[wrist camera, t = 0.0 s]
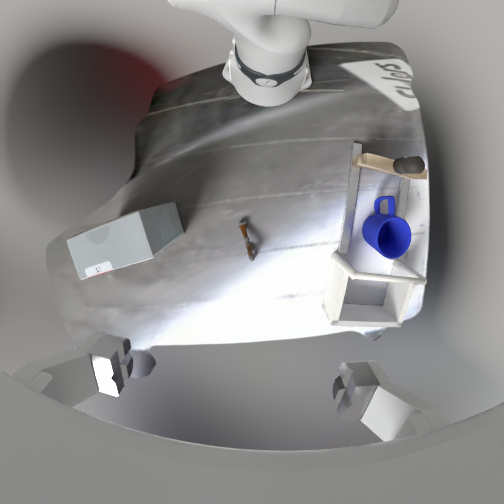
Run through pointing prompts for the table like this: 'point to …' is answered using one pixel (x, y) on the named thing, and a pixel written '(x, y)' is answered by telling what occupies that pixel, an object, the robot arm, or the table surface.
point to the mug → (387, 231)
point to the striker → (393, 165)
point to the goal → (368, 314)
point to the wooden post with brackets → (246, 240)
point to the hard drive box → (125, 240)
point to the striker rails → (352, 196)
